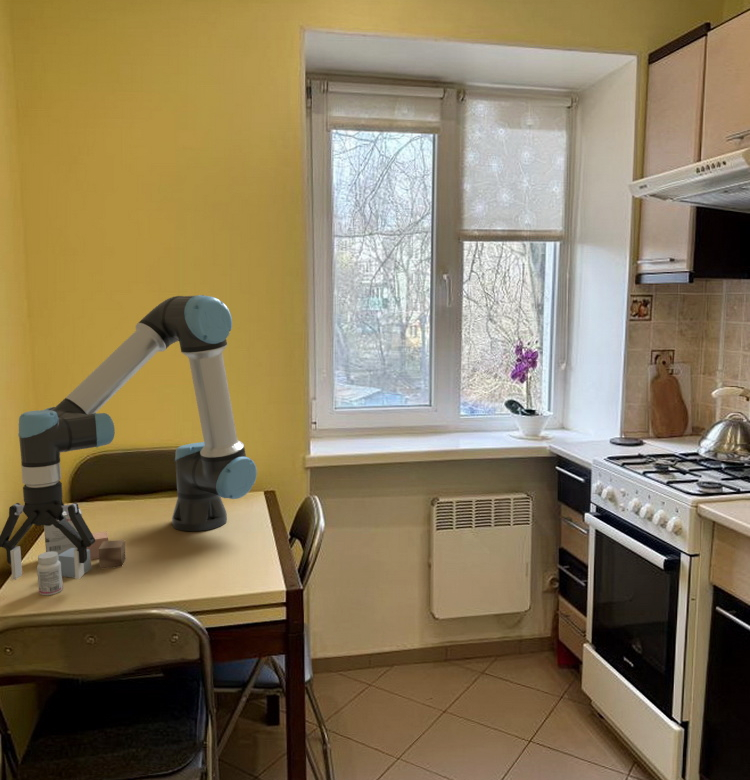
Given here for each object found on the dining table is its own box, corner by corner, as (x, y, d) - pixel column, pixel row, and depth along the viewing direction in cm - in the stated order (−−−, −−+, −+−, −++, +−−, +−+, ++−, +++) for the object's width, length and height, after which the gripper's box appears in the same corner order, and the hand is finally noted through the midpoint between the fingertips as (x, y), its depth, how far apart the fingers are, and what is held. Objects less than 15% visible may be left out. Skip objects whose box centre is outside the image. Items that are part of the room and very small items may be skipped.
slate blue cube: (91, 569, 159) (89, 549, 158) (77, 578, 154) (75, 557, 153) (73, 567, 160) (71, 547, 159) (58, 576, 155) (57, 555, 154)
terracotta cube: (107, 549, 171) (106, 531, 170) (109, 556, 167) (108, 537, 166) (86, 553, 169) (85, 534, 168) (87, 560, 164) (86, 540, 164)
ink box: (83, 551, 170) (80, 507, 168) (85, 558, 165) (82, 512, 164) (46, 557, 166) (42, 512, 164) (47, 564, 161) (43, 518, 160)
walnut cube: (125, 559, 165) (124, 539, 164) (122, 567, 160) (120, 547, 159) (104, 560, 164) (102, 541, 163) (99, 568, 159) (98, 548, 158)
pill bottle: (44, 587, 149) (41, 550, 148) (66, 586, 149) (63, 550, 148) (35, 596, 144) (32, 559, 143) (58, 595, 145) (55, 558, 144)
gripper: (107, 477, 147) (112, 569, 150) (-7, 478, 147) (0, 570, 150) (93, 487, 140) (99, 583, 143) (-27, 487, 140) (-19, 584, 142)
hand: (48, 577), depth 146 cm, fingers open, 13 cm apart
